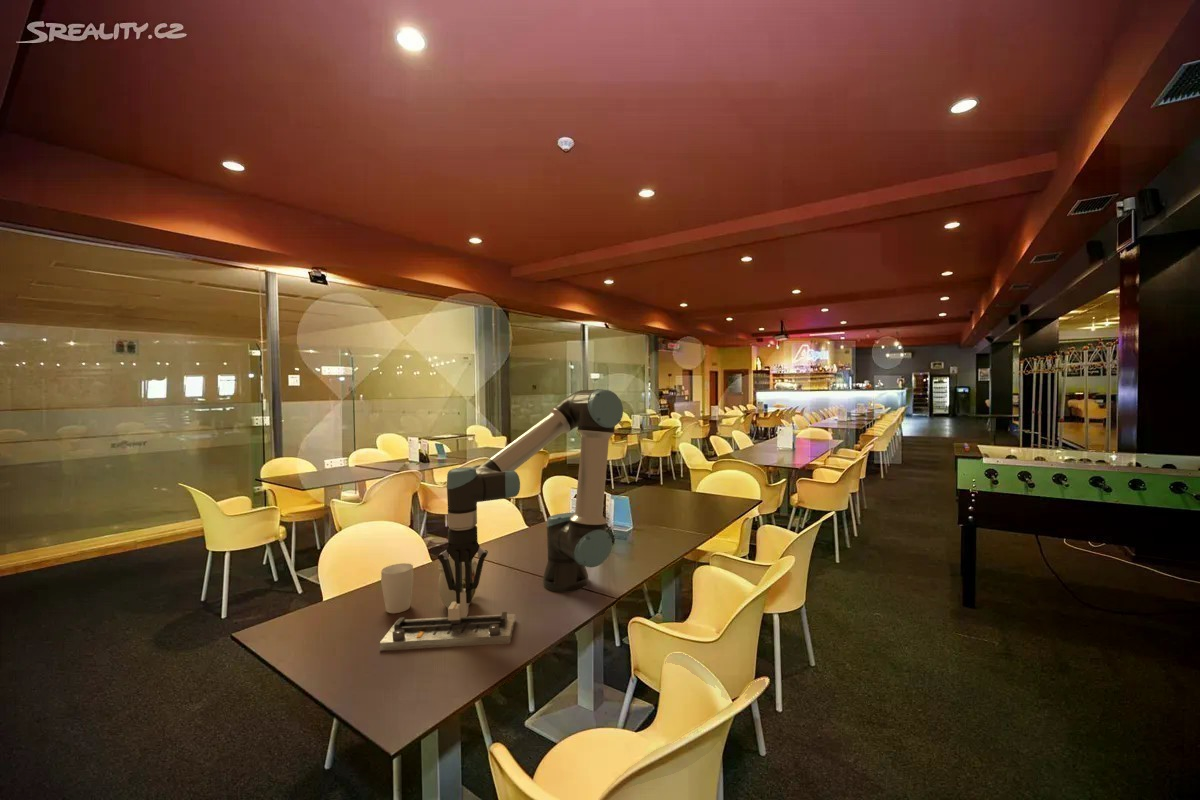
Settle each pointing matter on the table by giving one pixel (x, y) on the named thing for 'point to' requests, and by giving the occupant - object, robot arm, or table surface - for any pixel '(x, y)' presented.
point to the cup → (397, 587)
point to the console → (449, 632)
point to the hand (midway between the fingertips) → (464, 614)
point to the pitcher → (444, 591)
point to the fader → (454, 613)
